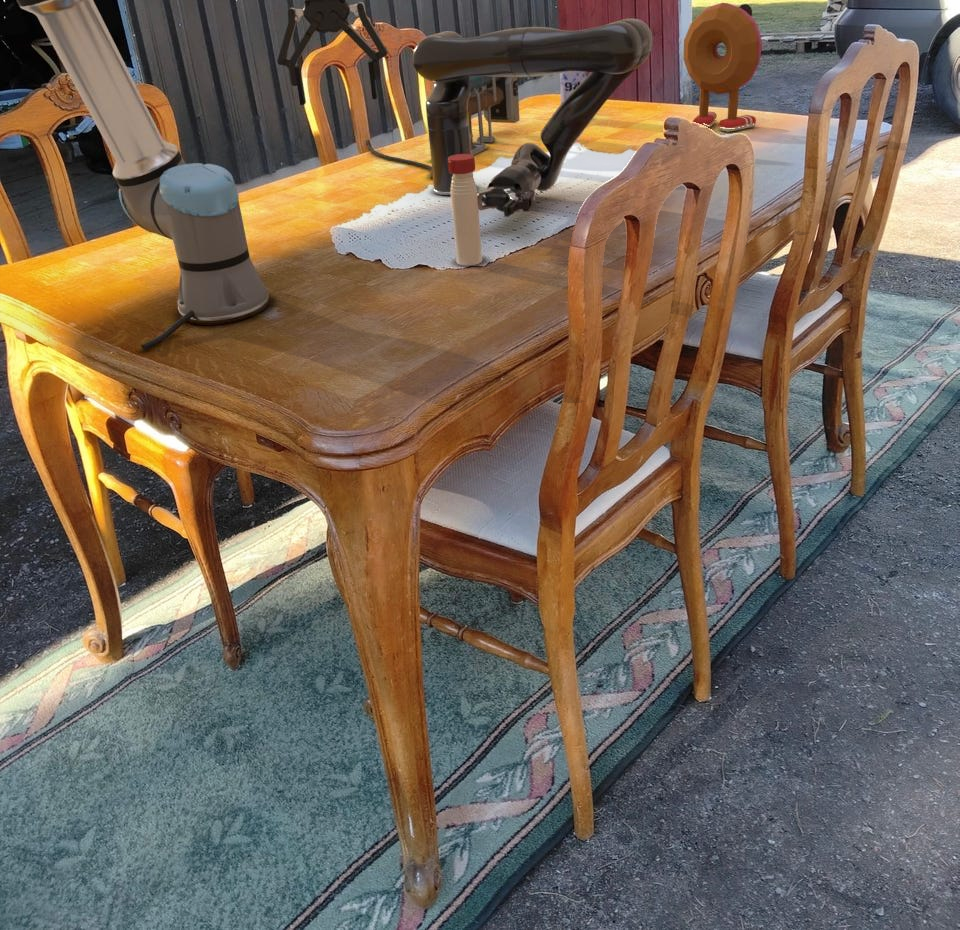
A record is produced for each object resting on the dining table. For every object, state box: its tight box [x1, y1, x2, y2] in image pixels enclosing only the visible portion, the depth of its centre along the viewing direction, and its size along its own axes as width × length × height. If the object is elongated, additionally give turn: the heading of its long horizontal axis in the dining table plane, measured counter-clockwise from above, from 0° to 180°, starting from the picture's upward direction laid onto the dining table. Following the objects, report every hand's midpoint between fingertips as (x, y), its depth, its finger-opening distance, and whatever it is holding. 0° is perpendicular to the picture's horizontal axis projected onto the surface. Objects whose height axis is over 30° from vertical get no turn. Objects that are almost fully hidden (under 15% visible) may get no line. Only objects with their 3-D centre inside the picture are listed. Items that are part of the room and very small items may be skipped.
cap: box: [448, 154, 476, 174], centre depth 169 cm, size 5×5×2 cm
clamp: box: [468, 76, 521, 156], centre depth 252 cm, size 35×9×21 cm, turn 151°
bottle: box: [450, 172, 483, 267], centre depth 173 cm, size 5×5×18 cm
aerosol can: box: [559, 71, 588, 105], centre depth 273 cm, size 8×8×20 cm
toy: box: [682, 2, 763, 133], centre depth 248 cm, size 21×10×30 cm, turn 47°
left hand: (339, 101), depth 183 cm, fingers open, 13 cm apart
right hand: (484, 211), depth 182 cm, fingers open, 8 cm apart
